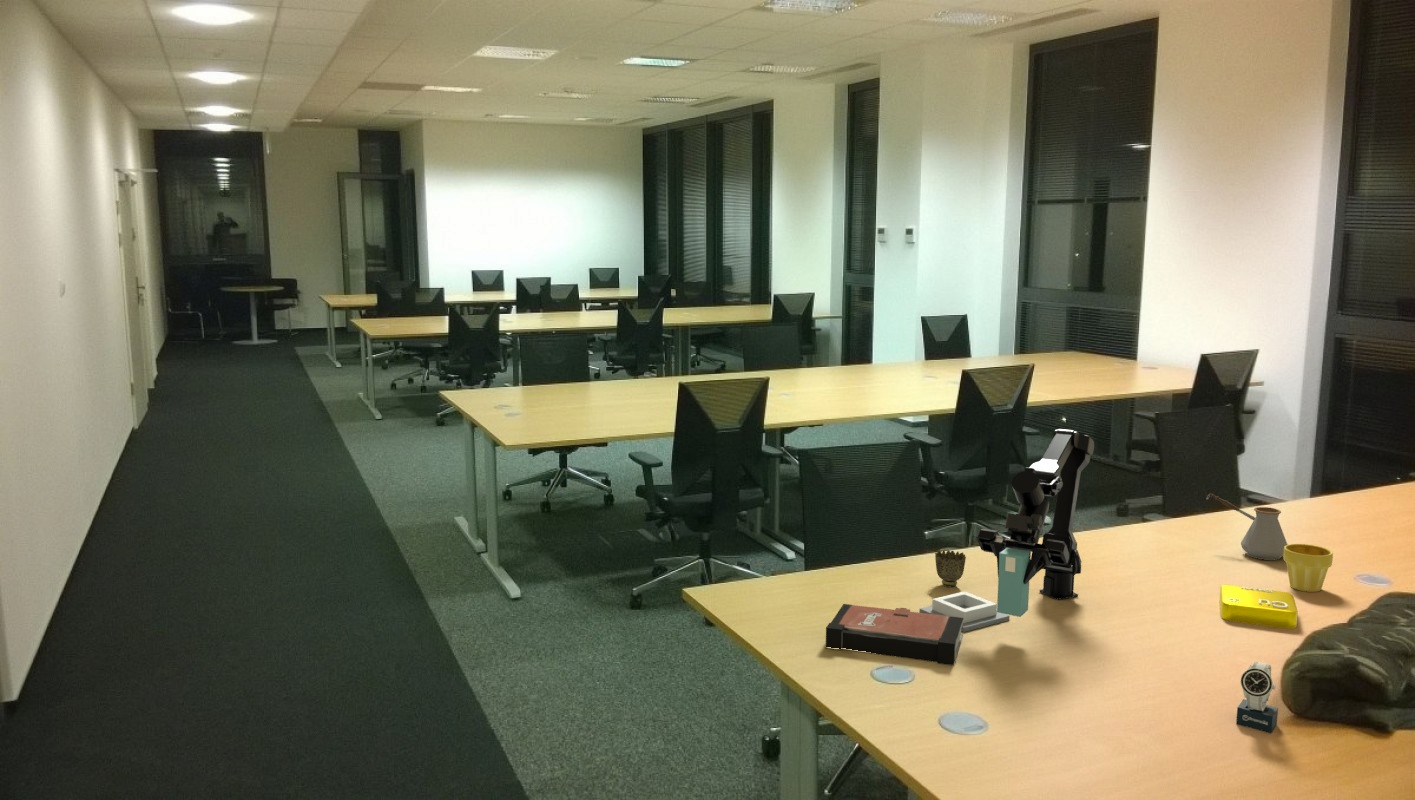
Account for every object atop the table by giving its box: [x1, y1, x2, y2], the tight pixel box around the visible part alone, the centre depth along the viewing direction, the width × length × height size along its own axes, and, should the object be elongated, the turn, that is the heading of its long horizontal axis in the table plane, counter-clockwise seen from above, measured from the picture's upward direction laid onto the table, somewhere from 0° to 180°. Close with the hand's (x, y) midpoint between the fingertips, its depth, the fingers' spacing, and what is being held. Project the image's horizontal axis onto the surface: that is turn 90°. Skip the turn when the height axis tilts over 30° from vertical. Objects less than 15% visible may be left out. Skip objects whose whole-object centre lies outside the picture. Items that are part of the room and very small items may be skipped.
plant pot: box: [1282, 543, 1334, 593], centre depth 251 cm, size 10×10×10 cm
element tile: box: [1218, 584, 1299, 630], centre depth 233 cm, size 15×15×5 cm
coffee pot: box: [1205, 492, 1289, 561], centre depth 279 cm, size 21×12×15 cm, turn 46°
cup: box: [934, 550, 967, 588], centre depth 253 cm, size 8×7×8 cm
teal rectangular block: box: [996, 547, 1032, 618], centre depth 217 cm, size 5×5×13 cm
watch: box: [1235, 661, 1279, 734], centre depth 179 cm, size 6×8×11 cm
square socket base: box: [918, 591, 1011, 633], centre depth 232 cm, size 14×14×4 cm
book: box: [825, 603, 964, 666], centre depth 217 cm, size 26×18×5 cm
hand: (1011, 580), depth 216 cm, fingers closed on teal rectangular block, 5 cm apart
